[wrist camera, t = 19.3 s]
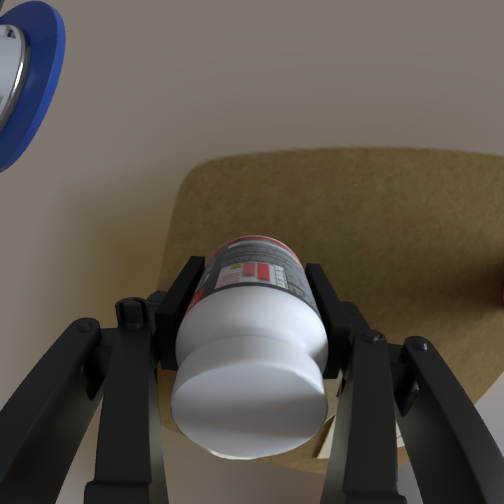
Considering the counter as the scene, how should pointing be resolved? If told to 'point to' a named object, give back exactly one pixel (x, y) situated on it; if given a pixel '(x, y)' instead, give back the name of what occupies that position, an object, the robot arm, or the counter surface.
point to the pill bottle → (251, 353)
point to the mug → (503, 294)
